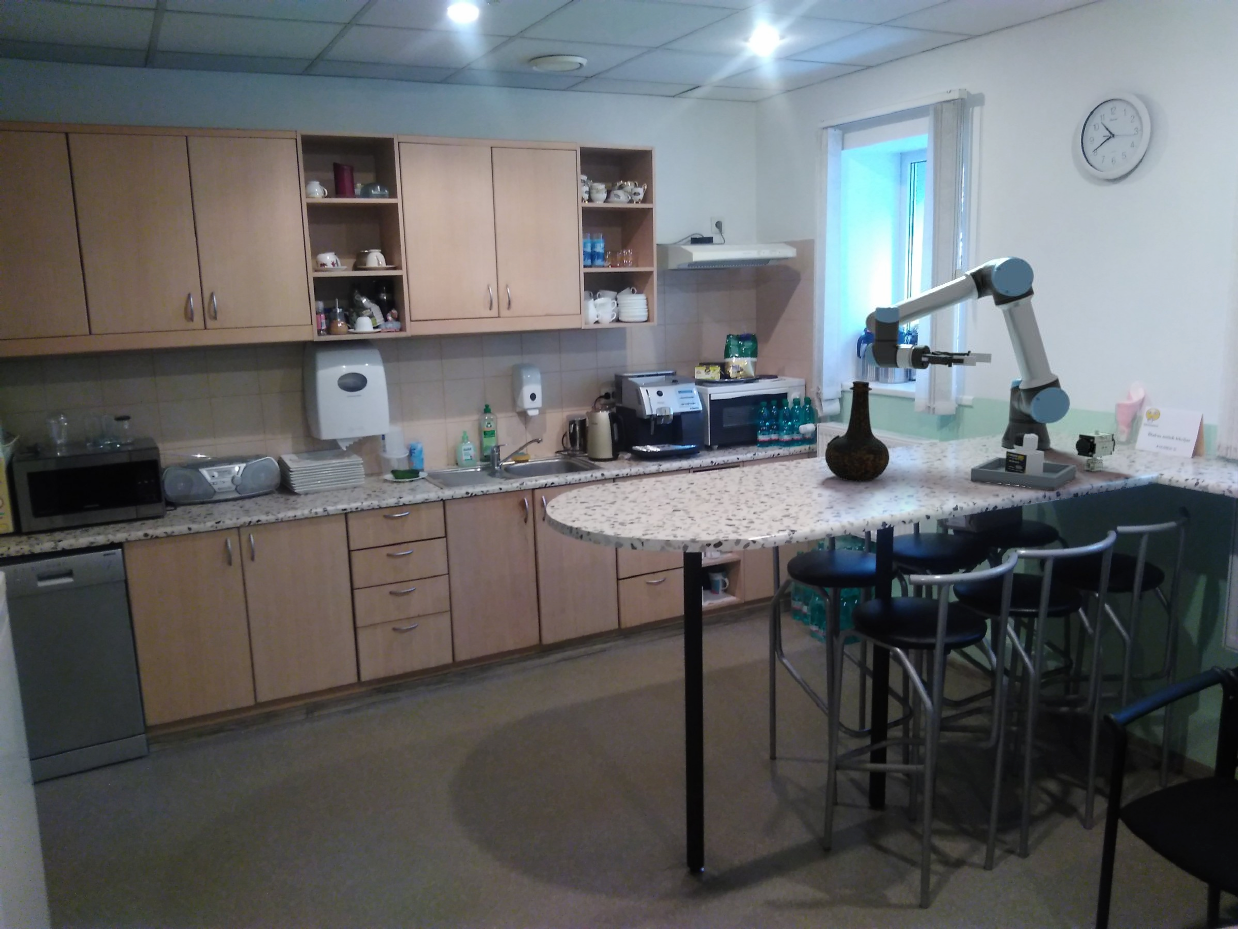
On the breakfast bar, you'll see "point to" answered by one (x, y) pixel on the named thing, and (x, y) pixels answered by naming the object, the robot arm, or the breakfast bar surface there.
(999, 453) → the breakfast bar surface
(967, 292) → the robot arm
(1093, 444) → the pneumatic valve
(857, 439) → the glass bottle
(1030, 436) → the medicine bottle
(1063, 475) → the tray
